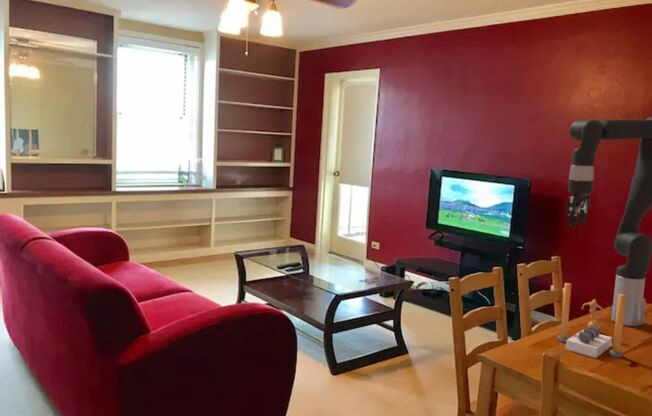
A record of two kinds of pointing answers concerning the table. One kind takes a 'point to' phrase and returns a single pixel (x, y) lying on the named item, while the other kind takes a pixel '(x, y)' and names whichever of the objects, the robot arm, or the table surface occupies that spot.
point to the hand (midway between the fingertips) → (576, 225)
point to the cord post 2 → (618, 327)
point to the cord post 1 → (565, 313)
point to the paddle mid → (593, 333)
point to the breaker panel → (589, 345)
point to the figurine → (593, 310)
